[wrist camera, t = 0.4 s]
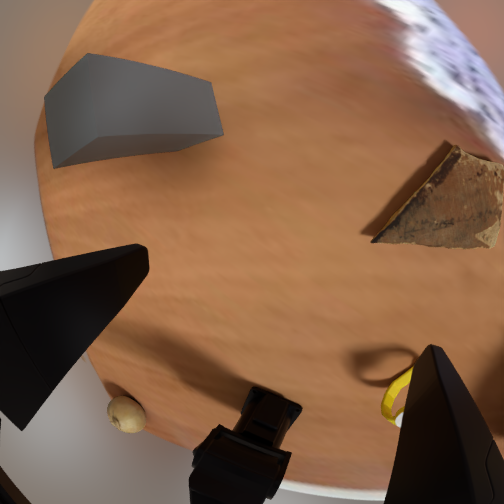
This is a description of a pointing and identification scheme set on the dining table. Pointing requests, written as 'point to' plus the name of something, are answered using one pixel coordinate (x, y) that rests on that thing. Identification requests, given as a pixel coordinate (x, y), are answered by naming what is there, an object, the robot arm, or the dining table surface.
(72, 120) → the slate block
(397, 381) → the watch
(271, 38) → the dining table surface
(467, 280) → the dining table surface
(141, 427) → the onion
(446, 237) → the shard
